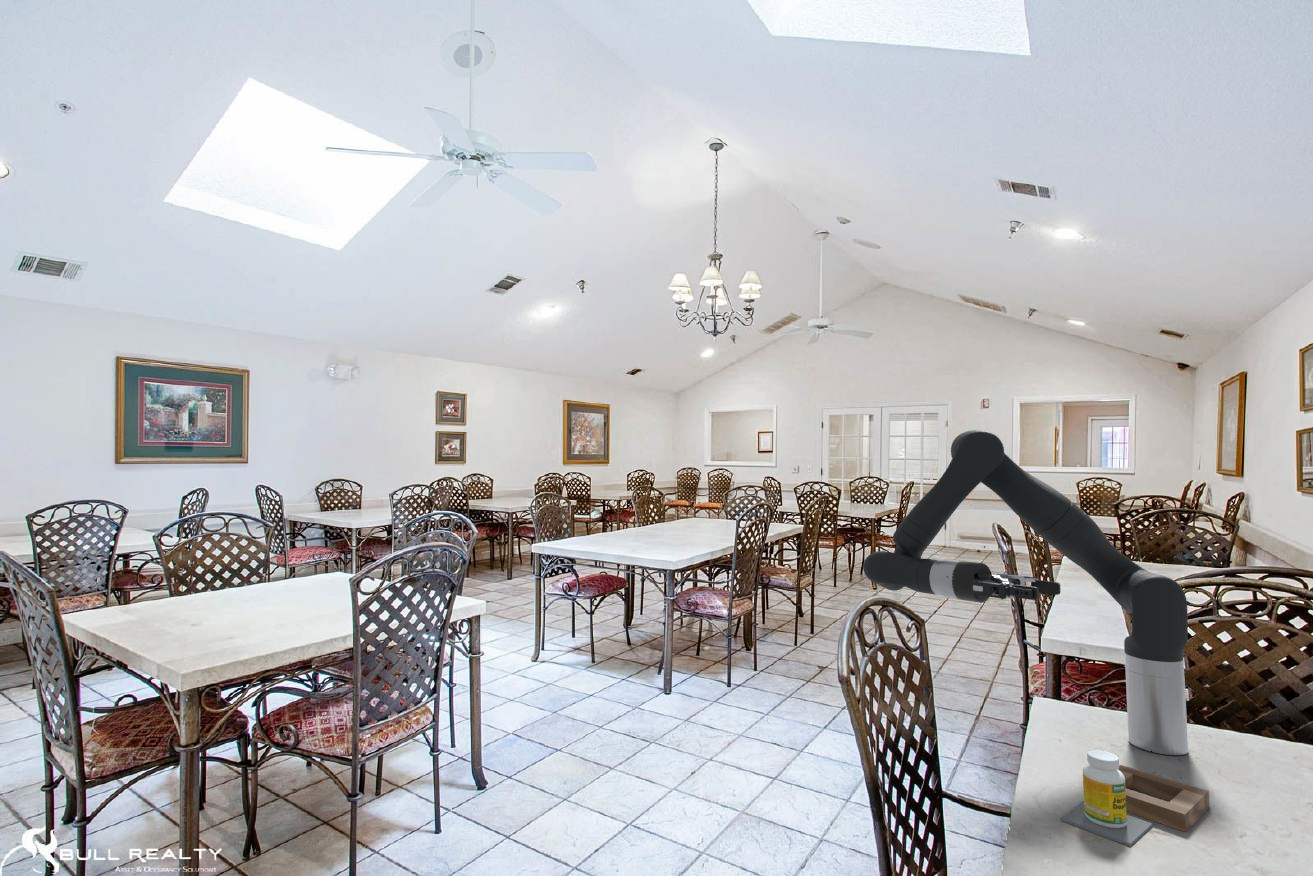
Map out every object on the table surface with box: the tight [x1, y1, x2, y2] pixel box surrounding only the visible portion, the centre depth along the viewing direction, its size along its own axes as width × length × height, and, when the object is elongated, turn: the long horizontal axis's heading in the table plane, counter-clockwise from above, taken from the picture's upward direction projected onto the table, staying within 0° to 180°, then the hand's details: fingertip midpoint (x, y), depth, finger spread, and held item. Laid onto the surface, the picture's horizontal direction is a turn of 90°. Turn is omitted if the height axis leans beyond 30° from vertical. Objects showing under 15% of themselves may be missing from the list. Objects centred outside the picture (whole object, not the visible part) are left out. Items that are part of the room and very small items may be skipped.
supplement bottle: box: [1082, 749, 1128, 828], centre depth 99 cm, size 5×5×10 cm
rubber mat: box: [1060, 800, 1153, 848], centre depth 99 cm, size 9×9×1 cm
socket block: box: [1118, 764, 1211, 833], centre depth 105 cm, size 12×12×2 cm
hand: (1049, 591), depth 116 cm, fingers open, 8 cm apart
